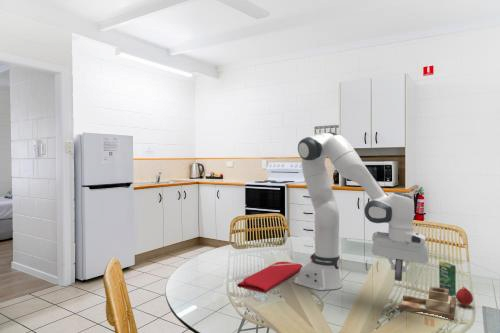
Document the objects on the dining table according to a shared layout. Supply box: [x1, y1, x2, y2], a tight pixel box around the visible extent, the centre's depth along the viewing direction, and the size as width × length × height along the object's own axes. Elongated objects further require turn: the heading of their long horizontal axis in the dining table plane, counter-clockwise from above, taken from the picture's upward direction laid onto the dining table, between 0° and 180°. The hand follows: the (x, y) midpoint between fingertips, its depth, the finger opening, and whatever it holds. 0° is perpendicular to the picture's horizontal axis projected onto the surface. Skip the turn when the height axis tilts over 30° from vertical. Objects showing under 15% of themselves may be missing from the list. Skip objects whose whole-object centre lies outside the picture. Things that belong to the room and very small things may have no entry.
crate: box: [425, 285, 452, 314], centre depth 139 cm, size 8×8×8 cm
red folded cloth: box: [237, 261, 304, 294], centre depth 180 cm, size 16×41×4 cm, turn 148°
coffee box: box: [438, 260, 457, 297], centre depth 161 cm, size 8×3×13 cm, turn 6°
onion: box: [455, 285, 474, 307], centre depth 145 cm, size 6×6×8 cm
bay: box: [397, 294, 457, 321], centre depth 141 cm, size 19×12×5 cm, turn 58°
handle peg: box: [394, 259, 404, 282], centre depth 138 cm, size 3×3×10 cm
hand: (398, 270), depth 138 cm, fingers closed on handle peg, 3 cm apart
